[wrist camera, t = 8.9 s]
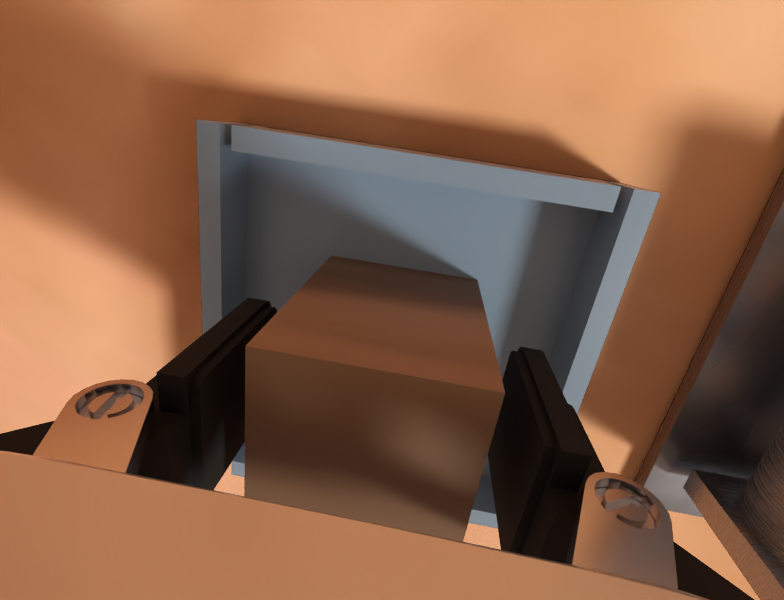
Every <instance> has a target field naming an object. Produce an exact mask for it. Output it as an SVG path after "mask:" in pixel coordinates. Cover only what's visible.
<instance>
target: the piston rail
mask: <svg viewBox="0 0 784 600" xmlns="http://www.w3.org/2000/svg"><path fill="white" fill-rule="evenodd" d="M783 423H784V170H783V172H782V174H781V176H780V179H779V181H778V183H777V185H776V187H775V189H774V191H773V193H772V195H771V197H770V199H769V202H768V204H767V206H766V208H765V210H764V212H763V214H762V216H761V218H760V220H759V222H758V225H757V227H756V229H755V231H754V233H753V235H752V237H751V239H750V241H749V243H748V246H747V248H746V250H745V252H744V254H743V256H742V258H741V260H740V262H739V264H738V266H737V269H736V271H735V273H734V275H733V277H732V279H731V281H730V283H729V285H728V287H727V289H726V292H725V294H724V296H723V298H722V300H721V302H720V304H719V306H718V308H717V310H716V313H715V315H714V317H713V319H712V321H711V323H710V325H709V327H708V329H707V331H706V333H705V336H704V338H703V340H702V342H701V344H700V346H699V348H698V350H697V352H696V354H695V357H694V359H693V361H692V363H691V365H690V367H689V369H688V371H687V373H686V375H685V377H684V380H683V382H682V384H681V386H680V388H679V390H678V392H677V394H676V396H675V398H674V400H673V403H672V405H671V407H670V409H669V411H668V413H667V415H666V417H665V419H664V421H663V424H662V426H661V428H660V430H659V432H658V434H657V436H656V438H655V440H654V442H653V444H652V447H651V449H650V451H649V453H648V455H647V457H646V459H645V461H644V463H643V465H642V467H641V470H640V472H639V474H638V476H637V478H636V480H635V482H637V483H639V484H640V485H642V486H643V487H645V488H646V489H647V490H649V491H650V492H651V493H653V494H654V495H655V496H656V497H657V498H658V499H659V500H660V501H661V502H662V504H663V505H664V507H665V508H666V510H669V511H674V512H679V513H684V514H689V515H694V516H699V517H703V516H702V514H701V513H700V511H699V510H698V508H697V507H696V505H695V504H694V502H693V501H692V500H691V498H690V497H689V495H688V494H687V492H686V491H685V489H684V488H683V486H684V484H685V482H686V481H687V479H688V477H689V475H690V473H691V471H692V469H696V470H701V471H706V472H711V473H717V474H722V475H727V476H732V477H738V478H743V479H748V480H749V478H750V477H751V475H752V473H753V472H754V470H755V468H756V467H757V465H758V463H759V462H760V460H761V459H762V457H763V455H764V454H765V452H766V450H767V449H768V447H769V445H770V444H771V442H772V441H773V439H774V437H775V436H776V434H777V432H778V431H779V429H780V427H781V426H782V424H783Z"/></svg>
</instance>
